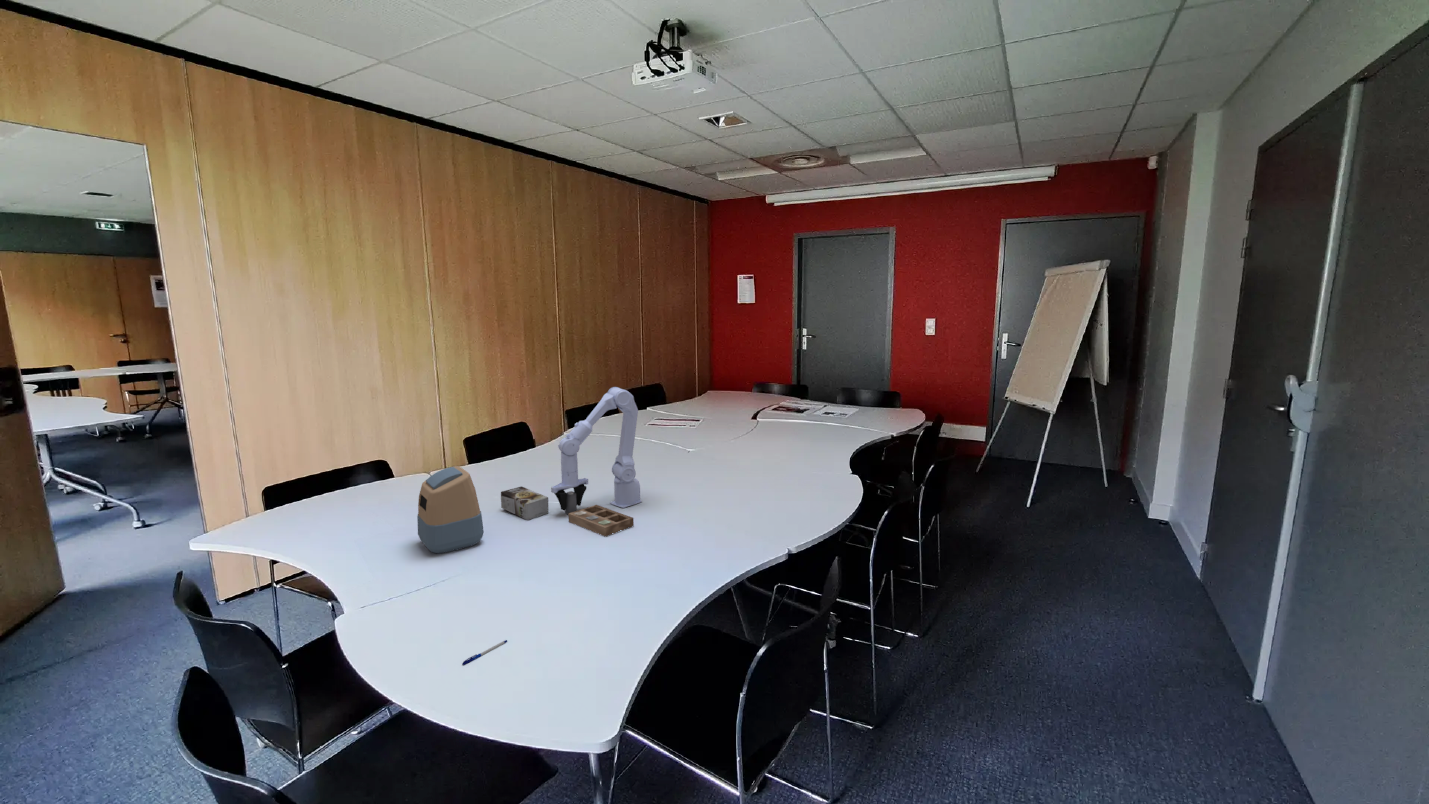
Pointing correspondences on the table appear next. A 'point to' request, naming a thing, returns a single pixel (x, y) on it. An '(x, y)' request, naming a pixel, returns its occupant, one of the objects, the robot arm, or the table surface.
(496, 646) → the ballpoint pen
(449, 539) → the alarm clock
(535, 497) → the coffee box
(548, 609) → the table surface
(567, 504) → the plug
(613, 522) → the socket board
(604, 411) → the robot arm
